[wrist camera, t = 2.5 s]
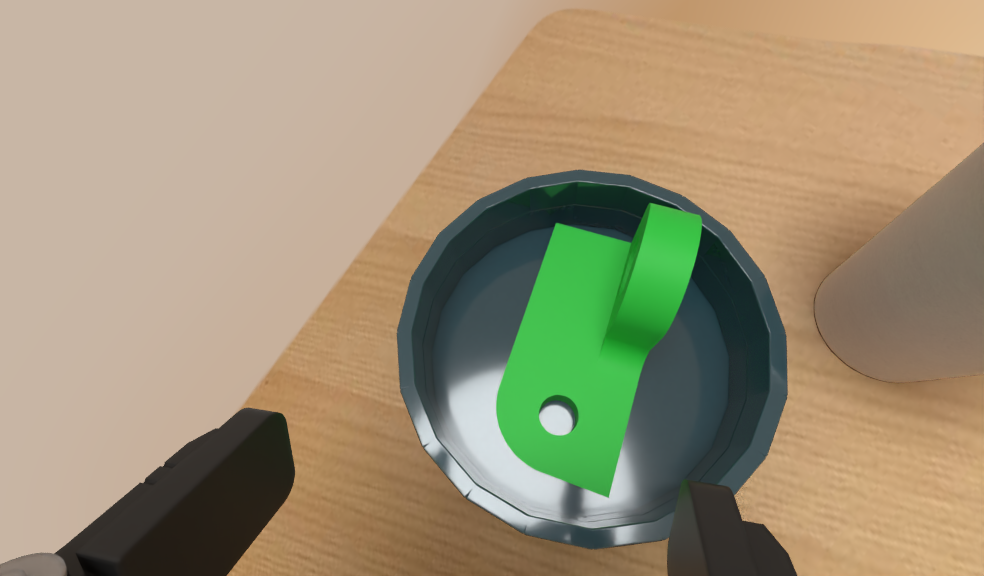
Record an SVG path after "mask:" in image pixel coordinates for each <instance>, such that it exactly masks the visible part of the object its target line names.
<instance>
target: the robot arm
mask: <svg viewBox="0 0 984 576" xmlns="http://www.w3.org/2000/svg"><path fill="white" fill-rule="evenodd" d="M294 478H295V467H294V461H293V456H292V450H291V445H290V439H289V433H288V428H287V422H286V419H285V417H284V416H283V414H281V413H278V412H271V411H265V410H259V409H253V408H244V409H242V410H240V411H239V412H237V413H236V414H235V415H234V416H233V417H232V418H230V419H229V420H228V421H227V422H226V423H225V424H223V425H222V426H221V427H220V428H219V429H214V430H212V431H210V432H208V433H206V434H204V435H202V436H200V437H199V438H197V439H195V440H193V441H191V442H189V443H187V444H186V445H185V446H184V447H183V448H181V449H180V450H179V451H178V452H177V453H175V454H174V455H173V456H172V457H171V458H169V459H168V460H167V461H166V462H165V464H164V466H163V467H161V466H160V467H159V468H157V469H156V470H155V471H154V472H153V473H151V474H150V475H149V476H148V477H147V478H146V479H145V482H144V483H139V484H138V485H137V486H136V487H135V488H133V489H132V490H131V491H130V492H129V493H127V494H126V495H125V496H124V497H123V498H121V499H120V500H119V501H118V502H117V503H115V504H114V505H113V506H112V507H111V508H109V509H108V510H107V511H106V512H105V513H103V514H102V515H101V516H100V517H99V518H97V519H96V520H95V521H94V522H93V523H91V524H90V525H89V526H88V527H87V528H85V529H84V530H83V531H82V532H81V533H79V534H78V535H77V536H76V537H75V538H73V539H72V540H71V541H70V542H69V543H67V544H66V545H65V546H64V547H62V548H61V549H60V550H59V551H57V552H56V553H55V554H52V553H36V554H30V555H26V556H22V557H19V558H16V559H13V560H10V561H8V562H5V563H3V564H1V565H0V576H227V574H228V573H229V572H230V570H231V569H232V568H233V567H234V565H235V564H236V563H237V562H238V560H239V559H240V558H241V556H242V555H243V554H244V553H245V551H246V550H247V549H248V548H249V546H250V545H251V544H252V542H253V541H254V540H255V539H256V537H257V536H258V535H259V534H260V532H261V531H262V530H263V528H264V527H265V526H266V525H267V523H268V522H269V521H270V520H271V518H272V517H273V516H274V514H275V513H276V512H277V511H278V509H279V508H280V507H281V506H282V504H283V503H284V502H285V500H286V499H287V497H288V495H289V493H290V491H291V489H292V486H293V483H294ZM667 568H668V576H797V574H796V572H795V569H794V567H793V564H792V562H791V559H790V557H789V555H788V553H787V552H786V551H785V550H784V548H783V547H782V546H781V545H780V544H779V542H778V541H777V540H776V539H775V538H774V536H773V535H772V534H771V533H770V532H769V530H768V529H767V528H766V527H765V526H764V525H763V524H758V523H752V522H746V521H742V518H741V515H740V512H739V509H738V506H737V503H736V500H735V497H734V495H733V492H732V490H731V489H730V487H728V486H723V485H717V484H711V483H705V482H698V481H692V480H686V479H684V480H683V481H682V483H681V486H680V490H679V495H678V500H677V504H676V509H675V514H674V518H673V523H672V528H671V532H670V537H669V543H668V554H667Z"/></svg>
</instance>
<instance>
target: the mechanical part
mask: <svg viewBox="0 0 984 576" xmlns="http://www.w3.org/2000/svg"><path fill="white" fill-rule="evenodd" d="M701 229H702V219H701V216H700V215H697V214H693V213H689V212H685V211H681V210H677V209H673V208H669V207H665V206H661V205H657V204H653V203H649V204H648V206H647V208H646V210H645V213H644V215H643V217H642V220H641V222H640V224H639V227H638V229H637V231H636V234H635V236H634V238H633V241H632V243H629V242H625V241H622V240H618V239H614V238H611V237H607V236H603V235H600V234H596V233H592V232H588V231H585V230H581V229H577V228H574V227H570V226H566V225H563V224H559V223H556V225H555V228H554V230H553V233H552V236H551V239H550V242H549V245H548V248H547V251H546V253H545V256H544V259H543V262H542V265H541V268H540V271H539V274H538V276H537V279H536V282H535V285H534V288H533V291H532V294H531V297H530V299H529V302H528V305H527V308H526V311H525V314H524V317H523V320H522V323H521V325H520V328H519V331H518V334H517V337H516V340H515V343H514V346H513V348H512V351H511V354H510V357H509V360H508V363H507V366H506V369H505V371H504V374H503V377H502V380H501V383H500V386H499V389H498V394H497V401H496V413H497V420H498V424H499V428H500V431H501V433H502V436H503V438H504V440H505V441H506V443H507V445H508V446H509V448H510V449H511V450H512V452H513V453H514V454H515V455H516V456H517V457H518V458H519V459H520V460H521V461H523V462H524V463H525V464H527V465H528V466H530V467H531V468H533V469H535V470H537V471H539V472H542V473H544V474H547V475H550V476H552V477H555V478H558V479H560V480H563V481H566V482H568V483H571V484H573V485H576V486H579V487H581V488H584V489H587V490H589V491H592V492H595V493H597V494H600V495H602V496H605V497H608V498H609V494H610V490H611V487H612V483H613V479H614V475H615V471H616V467H617V463H618V459H619V455H620V451H621V447H622V443H623V439H624V436H625V432H626V428H627V424H628V420H629V416H630V412H631V408H632V404H633V400H634V396H635V392H636V388H637V385H638V381H639V377H640V373H641V370H642V367H643V364H644V362H645V359H646V357H647V355H648V353H649V351H650V350H651V349H652V348H653V347H654V346H655V345H656V344H657V343H658V342H659V341H660V340H661V339H662V338H663V337H664V335H665V334H666V333H667V331H668V329H669V328H670V326H671V324H672V322H673V320H674V318H675V316H676V313H677V311H678V309H679V306H680V304H681V302H682V299H683V296H684V294H685V291H686V288H687V285H688V283H689V280H690V276H691V273H692V270H693V267H694V263H695V260H696V256H697V252H698V247H699V243H700V237H701ZM554 400H558V401H562V402H565V403H566V404H568V405H569V406H570V407H571V408H572V410H573V412H574V415H575V425H574V428H573V430H572V431H571V432H570V433H568V434H566V435H554V434H551V433H549V432H548V431H546V430H545V429H544V427H543V426H542V424H541V422H540V419H539V413H540V410H541V408H542V407H543V406H544V405H545V404H546V403H548V402H550V401H554Z"/></svg>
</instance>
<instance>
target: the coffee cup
mask: <svg viewBox="0 0 984 576" xmlns="http://www.w3.org/2000/svg"><path fill="white" fill-rule="evenodd" d="M814 310H815V318H816V322H817V326H818V328H819V331H820V333H821V335H822V337H823V339H824V340H825V342H826V343H827V345H828V346H829V348H830V349H831V350H832V351H833V352H834V353H835V354H836V355H837V356H838V357H839V358H840V359H841V360H842V361H843V362H845V363H846V364H847V365H849V366H850V367H851V368H853V369H855V370H856V371H858V372H860V373H862V374H864V375H866V376H869V377H871V378H874V379H878V380H882V381H886V382H894V383H907V382H917V381H927V380H937V379H946V378H956V377H965V376H975V375H984V143H983V144H982V145H980V146H979V147H978V148H977V149H976V150H975V151H973V152H972V153H971V154H970V155H969V156H968V157H967V158H965V159H964V160H963V161H962V162H961V163H960V164H958V165H957V166H956V167H955V168H954V169H953V170H951V171H950V172H949V173H948V174H947V175H946V176H944V177H943V178H942V179H941V180H940V181H939V182H937V183H936V184H935V185H934V186H933V187H932V188H930V189H929V190H928V191H927V192H926V193H924V194H923V195H922V196H921V197H920V198H919V199H917V200H916V201H915V202H914V203H913V204H912V205H910V206H909V207H908V208H907V209H906V210H905V211H903V212H902V213H901V214H900V215H899V216H897V217H896V218H895V219H894V220H893V221H892V222H890V223H889V224H888V225H887V226H886V227H885V228H883V229H882V230H881V231H880V232H879V233H877V234H876V235H875V236H874V237H873V238H872V239H870V240H869V241H868V242H867V243H866V244H865V245H863V246H862V247H861V248H860V249H859V250H857V251H856V252H855V253H854V254H853V255H852V256H850V257H849V258H848V259H847V260H846V261H844V262H843V263H842V264H841V265H840V266H839V267H837V268H836V269H835V270H834V271H833V272H832V273H830V274H829V275H828V276H827V277H826V278H825V279H824V281H823V282H822V284H821V285H820V287H819V289H818V291H817V294H816V298H815V306H814Z"/></svg>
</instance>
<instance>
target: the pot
mask: <svg viewBox="0 0 984 576" xmlns="http://www.w3.org/2000/svg"><path fill="white" fill-rule="evenodd" d="M649 203H653V204H657V205H661V206H665V207H669V208H673V209H677V210H681V211H685V212H689V213H693V214H697V215H700V216H701V219H702V229H701V237H700V243H699V247H698V252H697V256H696V260H695V263H694V267H693V270H692V273H691V276H690V280H689V283H688V285H687V288H686V291H685V294H684V296H683V299H682V302H681V304H680V306H679V309H678V311H677V313H676V316H675V318H674V320H673V322H672V324H671V326H670V328H669V329H668V331H667V333H666V334H665V335H664V337H663V338H662V339H661V340H660V341H659V342H658V343H657V344H656V345H655V346H654V347H653V348H652V349H651V350H650V351H649V353H648V355H647V357H646V359H645V362H644V364H643V367H642V370H641V373H640V377H639V381H638V385H637V388H636V392H635V396H634V400H633V404H632V408H631V412H630V416H629V420H628V424H627V428H626V432H625V436H624V439H623V443H622V447H621V451H620V455H619V459H618V463H617V467H616V471H615V475H614V479H613V483H612V487H611V490H610V494H609V498H608V497H605V496H602V495H600V494H597V493H595V492H592V491H589V490H587V489H584V488H581V487H579V486H576V485H573V484H571V483H568V482H566V481H563V480H560V479H558V478H555V477H552V476H550V475H547V474H544V473H542V472H539V471H537V470H535V469H533V468H531V467H530V466H528V465H527V464H525V463H524V462H523V461H521V460H520V459H519V458H518V457H517V456H516V455H515V454H514V453H513V452H512V450H511V449H510V448H509V446H508V445H507V443H506V441H505V440H504V438H503V436H502V433H501V431H500V428H499V424H498V420H497V413H496V401H497V394H498V389H499V386H500V383H501V380H502V377H503V374H504V371H505V369H506V366H507V363H508V360H509V357H510V354H511V351H512V348H513V346H514V343H515V340H516V337H517V334H518V331H519V328H520V325H521V323H522V320H523V317H524V314H525V311H526V308H527V305H528V302H529V299H530V297H531V294H532V291H533V288H534V285H535V282H536V279H537V276H538V274H539V271H540V268H541V265H542V262H543V259H544V256H545V253H546V251H547V248H548V245H549V242H550V239H551V236H552V233H553V230H554V228H555V225H556V223H559V224H563V225H566V226H570V227H574V228H577V229H581V230H585V231H588V232H592V233H596V234H600V235H603V236H607V237H611V238H614V239H618V240H622V241H625V242H629V243H632V241H633V238H634V236H635V234H636V231H637V229H638V227H639V224H640V222H641V220H642V217H643V215H644V213H645V210H646V208H647V206H648V204H649ZM397 345H398V363H399V380H400V389H401V390H400V391H401V394H402V397H403V399H404V402H405V404H406V407H407V409H408V412H409V414H410V417H411V419H412V422H413V424H414V427H415V430H416V432H417V435H418V437H419V440H420V442H421V445H422V447H424V450H425V451H426V452H427V453H428V455H429V456H430V457H431V458H432V459H433V461H434V462H435V463H436V464H437V465H438V467H439V468H440V469H441V470H442V471H443V473H444V474H445V475H446V476H447V477H448V479H449V480H450V481H451V482H452V483H453V485H454V486H455V487H456V488H457V489H458V491H459V492H460V493H461V494H462V495H463V497H466V499H467V500H469V501H470V502H472V503H473V504H475V505H477V506H478V507H480V508H482V509H483V510H485V511H486V512H488V513H490V514H491V515H493V516H495V517H496V518H498V519H499V520H501V521H503V522H504V523H506V524H508V525H509V526H511V527H513V528H514V529H516V530H517V531H519V532H521V533H524V534H525V535H528V536H532V537H537V538H541V539H546V540H550V541H555V542H559V543H564V544H569V545H573V546H578V547H582V548H587V549H591V550H592V549H595V550H596V549H604V548H611V547H619V546H626V545H634V544H642V543H649V542H657V541H662V540H666V539H667V538H669V537H670V532H671V528H672V523H673V518H674V514H675V509H676V504H677V500H678V495H679V490H680V486H681V483H682V481H683V480H684V479H686V480H692V481H698V482H705V483H711V484H717V485H723V486H728V487H730V489H731V490H732V492H733V495H735V494H736V493H737V492H738V490H739V489H740V488H741V487H742V486H743V485H744V483H745V482H746V481H747V480H748V479H749V477H750V476H751V475H752V474H753V473H754V472H755V470H756V469H757V468H758V467H759V466H760V464H761V463H762V462H763V461H764V460H765V458H766V456H767V455H768V452H769V449H770V446H771V443H772V440H773V438H774V435H775V432H776V429H777V426H778V423H779V420H780V417H781V414H782V411H783V408H784V406H785V403H786V400H787V395H788V390H787V346H786V334H785V329H784V327H783V324H782V321H781V318H780V316H779V313H778V310H777V307H776V305H775V302H774V299H773V296H772V294H771V291H770V288H769V286H768V283H767V280H766V278H765V276H764V274H763V273H762V272H761V270H760V269H759V268H758V266H757V265H756V264H755V262H754V261H753V260H752V258H751V257H750V256H749V255H748V253H747V252H746V251H745V249H744V248H743V247H742V245H741V244H740V243H739V241H738V240H737V239H736V238H735V236H734V235H733V234H732V232H731V231H730V230H728V228H726V227H725V226H724V225H722V224H721V223H720V222H718V221H717V220H715V219H714V218H713V217H711V216H710V215H709V214H707V213H706V212H705V211H703V210H702V209H701V208H699V207H698V206H697V205H695V204H694V203H692V202H691V201H690V200H688V199H687V198H686V197H684V196H683V197H682V195H680V194H678V193H675V192H672V191H670V190H667V189H665V188H662V187H660V186H657V185H654V184H652V183H649V182H647V181H644V180H641V179H639V178H636V177H634V176H631V175H624V174H615V173H605V172H596V171H587V170H573V171H566V172H560V173H554V174H548V175H541V176H535V177H529V178H526V179H523V180H520V181H518V182H516V183H514V184H512V185H509V186H507V187H505V188H503V189H501V190H499V191H496V192H494V193H492V194H490V195H488V196H485V197H483V198H481V199H479V200H477V201H476V202H475V203H474V204H473V205H471V206H470V207H469V208H468V209H467V210H466V211H464V212H463V213H462V214H461V215H460V216H459V217H458V218H456V219H455V220H454V221H453V222H452V223H451V224H449V225H448V226H447V227H446V228H445V229H444V230H443V231H441V232H440V233H439V234H438V236H437V238H436V239H435V241H434V242H433V244H432V245H431V247H430V249H429V250H428V252H427V253H426V255H425V257H424V258H423V260H422V261H421V263H420V264H419V266H418V268H417V269H416V271H415V272H414V274H413V276H412V277H411V280H410V283H409V287H408V291H407V295H406V299H405V302H404V306H403V310H402V314H401V318H400V322H399V325H398V329H397ZM539 419H540V422H541V424H542V426H543V427H544V429H545V430H546V431H548V432H549V433H551V434H554V435H566V434H568V433H570V432H571V431H572V430H573V428H574V425H575V415H574V412H573V410H572V408H571V407H570V406H569V405H568V404H566V403H565V402H562V401H558V400H554V401H550V402H548V403H546V404H545V405H544V406H543V407H542V408H541V410H540V413H539Z"/></svg>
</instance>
